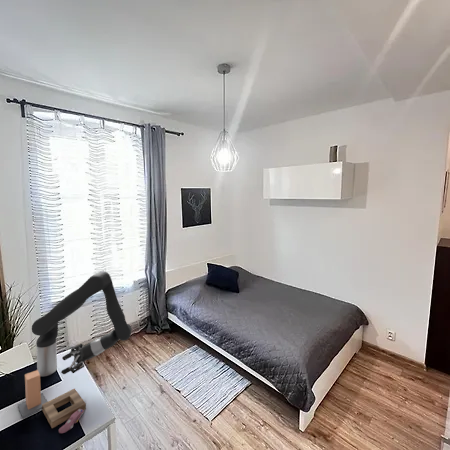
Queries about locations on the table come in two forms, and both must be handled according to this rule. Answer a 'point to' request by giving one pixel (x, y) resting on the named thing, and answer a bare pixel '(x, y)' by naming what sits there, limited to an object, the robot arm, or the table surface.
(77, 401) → the walnut pocket block
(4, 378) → the table surface
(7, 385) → the table surface
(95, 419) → the table surface
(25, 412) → the slate pad
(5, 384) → the table surface
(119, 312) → the robot arm
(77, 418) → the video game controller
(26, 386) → the terracotta block
